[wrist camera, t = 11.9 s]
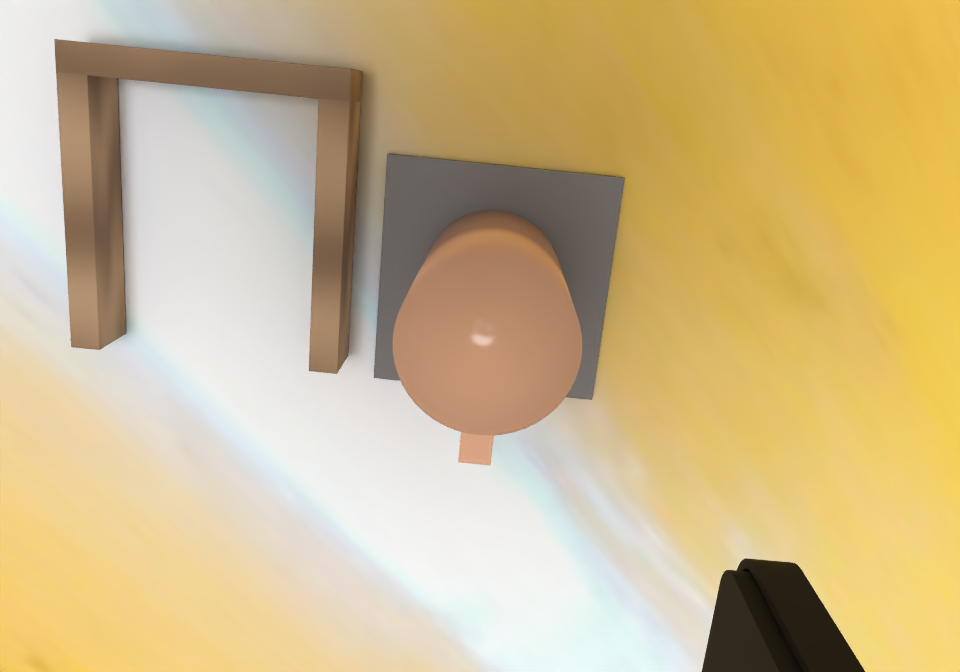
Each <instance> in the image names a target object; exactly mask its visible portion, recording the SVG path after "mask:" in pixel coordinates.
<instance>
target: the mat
mask: <svg viewBox="0 0 960 672" xmlns="http://www.w3.org/2000/svg"><path fill="white" fill-rule="evenodd" d="M624 179H625V178H624V177H616V176H606V175H596V174H586V173H576V172H566V171H556V170H546V169H536V168H526V167H516V166H506V165H497V164H487V163H477V162H467V161H457V160H447V159H437V158H427V157H417V156H407V155H397V154H387V171H386V187H385V203H384V219H383V236H382V252H381V268H380V285H379V301H378V317H377V333H376V350H375V366H374V378H380V379H390V380H400V378H399V376H398V373H397V370H396V366H395V363H394V356H393V332H394V326H395V322H396V319H397V315H398V313H399V310H400V308H401V306H402V304H403V302H404V300H405V298H406V296H407V294H408V292H409V290H410V288H411V286H412V284H413V282H414V280H415V278H416V276H417V274H418V272H419V270H420V268H421V266H422V264H423V262H424V260H425V258H426V256H427V254H428V252H429V250H430V248H431V246H432V244H433V243H434V241H435V239H436V238H437V237H438V236H439V234H440V233H441V232H442V231H443V230H444V229H445V228H446V227H447V226H448V225H450V224H451V223H453V222H454V221H455V220H457V219H459V218H461V217H463V216H465V215H468V214H471V213H474V212H479V211H486V210H499V211H505V212H510V213H513V214H516V215H519V216H521V217H523V218H525V219H527V220H528V221H530V222H532V223H533V224H534V225H536V226H537V227H538V228H539V229H540V230H541V231H542V232H543V233H544V234H545V235H546V236H547V238H548V239H549V241H550V242H551V244H552V246H553V248H554V249H555V251H556V254H557V257H558V260H559V263H560V266H561V269H562V272H563V275H564V278H565V281H566V284H567V287H568V290H569V293H570V296H571V299H572V302H573V305H574V308H575V311H576V314H577V317H578V320H579V323H580V328H581V333H582V358H581V363H580V367H579V371H578V374H577V376H576V379H575V381H574V383H573V385H572V387H571V389H570V391H569V392H568V394H567V395H566V397H569V398H579V399H589V400H592V397H593V390H594V383H595V376H596V369H597V363H598V356H599V349H600V342H601V335H602V329H603V322H604V315H605V308H606V301H607V295H608V288H609V281H610V274H611V267H612V261H613V254H614V247H615V240H616V233H617V227H618V220H619V213H620V206H621V199H622V193H623V186H624ZM400 381H401V380H400Z"/></svg>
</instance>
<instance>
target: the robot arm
mask: <svg viewBox="0 0 960 672" xmlns="http://www.w3.org/2000/svg"><path fill="white" fill-rule="evenodd" d="M702 672H865V671H864V669H863V667H862V666H861V664H860V663H859V661H858V659H857V658H856V656H855V655H854V653H853V651H852V650H851V648H850V647H849V645H848V643H847V642H846V640H845V639H844V637H843V635H842V634H841V632H840V631H839V629H838V627H837V626H836V624H835V623H834V621H833V619H832V618H831V616H830V615H829V613H828V611H827V610H826V608H825V607H824V605H823V603H822V602H821V600H820V599H819V597H818V595H817V594H816V592H815V591H814V589H813V587H812V586H811V584H810V583H809V581H808V580H807V578H806V576H805V575H804V573H803V572H802V570H801V569H800V567H799V566H798V565H797V564H795V563H791V562H779V561H768V560H756V559H744V560H742V561H741V563H740V564H739V566H738V569H737V571H734V570H726V571H725V572H724V573H723V575H722V578H721V581H720V586H719V591H718V596H717V600H716V605H715V610H714V615H713V620H712V625H711V630H710V635H709V639H708V644H707V649H706V654H705V659H704V664H703V669H702Z"/></svg>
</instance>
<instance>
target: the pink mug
mask: <svg viewBox="0 0 960 672" xmlns="http://www.w3.org/2000/svg"><path fill="white" fill-rule="evenodd" d="M393 356H394V363H395V366H396V370H397V373H398V376H399V378H400V380H401V383H402V385H403V386H404V388H405V390H406V391H407V393H408V395H409V396H410V397H411V398H412V400H413V401H414V402H415V404H416V405H417V406H419V407H420V408H421V409H422V410H423V411H424V412H425V413H426V414H427V415H429V416H430V417H431V418H433V419H434V420H436V421H438V422H439V423H441V424H443V425H445V426H447V427H450V428H452V429H454V430H457V431H461V440H460V450H459V460H458V462H462V463H472V464H482V465H490V464H491V455H492V446H493V437H494V435H502V434H507V433H512V432H516V431H519V430H521V429H524V428H527V427H529V426H531V425H533V424H535V423H537V422H538V421H540V420H541V419H543V418H545V417H546V416H547V415H548V414H550V413H551V412H552V411H553V410H554V409H555V408H556V407H557V406H558V405H559V404H560V403H561V402H562V401H563V400H564V398H565V397H566V395H567V394H568V392H569V391H570V389H571V387H572V385H573V383H574V381H575V379H576V376H577V374H578V371H579V367H580V363H581V358H582V333H581V328H580V323H579V320H578V317H577V314H576V311H575V308H574V305H573V302H572V299H571V296H570V293H569V290H568V287H567V284H566V281H565V278H564V275H563V272H562V269H561V266H560V263H559V260H558V257H557V254H556V251H555V249H554V248H553V246H552V244H551V242H550V241H549V239H548V238H547V236H546V235H545V234H544V233H543V232H542V231H541V230H540V229H539V228H538V227H537V226H536V225H534V224H533V223H532V222H530V221H528V220H527V219H525V218H523V217H521V216H519V215H516V214H513V213H510V212H505V211H499V210H486V211H479V212H474V213H471V214H468V215H465V216H463V217H461V218H459V219H457V220H455V221H454V222H453V223H451V224H450V225H448V226H447V227H446V228H445V229H444V230H443V231H442V232H441V233H440V234H439V236H438V237H437V238H436V239H435V241H434V243H433V244H432V246H431V248H430V250H429V252H428V254H427V256H426V258H425V260H424V262H423V264H422V266H421V268H420V270H419V272H418V274H417V276H416V278H415V280H414V282H413V284H412V286H411V288H410V290H409V292H408V294H407V296H406V298H405V300H404V302H403V304H402V306H401V308H400V310H399V313H398V315H397V319H396V322H395V326H394V332H393Z"/></svg>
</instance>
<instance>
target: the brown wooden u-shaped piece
mask: <svg viewBox="0 0 960 672" xmlns="http://www.w3.org/2000/svg"><path fill="white" fill-rule="evenodd" d="M54 40H55V58H56V76H57V94H58V112H59V130H60V149H61V167H62V185H63V203H64V221H65V239H66V258H67V276H68V294H69V312H70V330H71V347H76V348H86V349H96V350H100V349H102V348H103V347H105V346H106V345H108V344H110V343H111V342H113V341H115V340H116V339H118V338H119V337H121V336H123V335H124V334H126V315H125V285H124V256H123V226H122V197H121V168H120V138H119V109H118V79H117V78H120V79H129V80H139V81H149V82H159V83H169V84H179V85H189V86H199V87H209V88H219V89H229V90H239V91H248V92H258V93H268V94H278V95H288V96H298V97H308V98H318V99H319V107H318V134H317V162H316V190H315V217H314V245H313V273H312V300H311V328H310V356H309V371H315V372H324V373H334V374H337V373H338V371H339V369H340V368H341V366H342V365H343V363H344V361H345V360H346V358H347V356H348V344H349V324H350V304H351V285H352V265H353V246H354V226H355V206H356V187H357V167H358V147H359V128H360V108H361V88H362V71H358V70H353V69H345V68H335V67H325V66H315V65H305V64H295V63H286V62H276V61H266V60H256V59H246V58H236V57H226V56H216V55H206V54H196V53H186V52H176V51H167V50H157V49H147V48H137V47H127V46H117V45H107V44H97V43H87V42H77V41H67V40H58V39H54Z"/></svg>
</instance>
